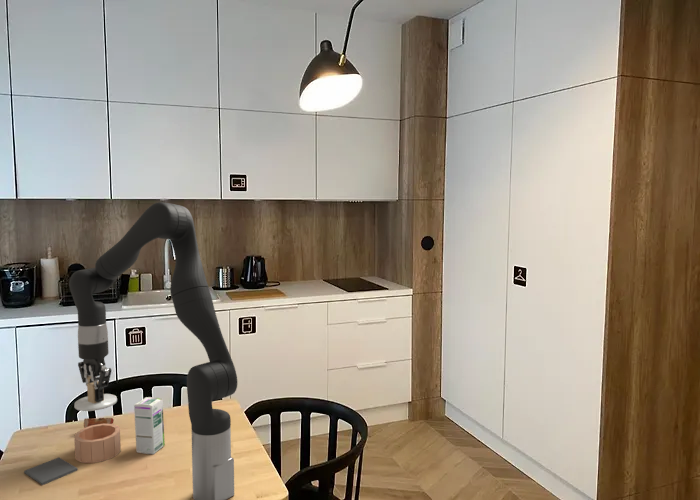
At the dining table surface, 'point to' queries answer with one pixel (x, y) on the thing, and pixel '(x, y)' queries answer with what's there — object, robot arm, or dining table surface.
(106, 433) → the bowl
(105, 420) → the fruit slice
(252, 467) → the dining table surface
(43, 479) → the mat
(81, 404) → the lid
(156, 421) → the syrup box
